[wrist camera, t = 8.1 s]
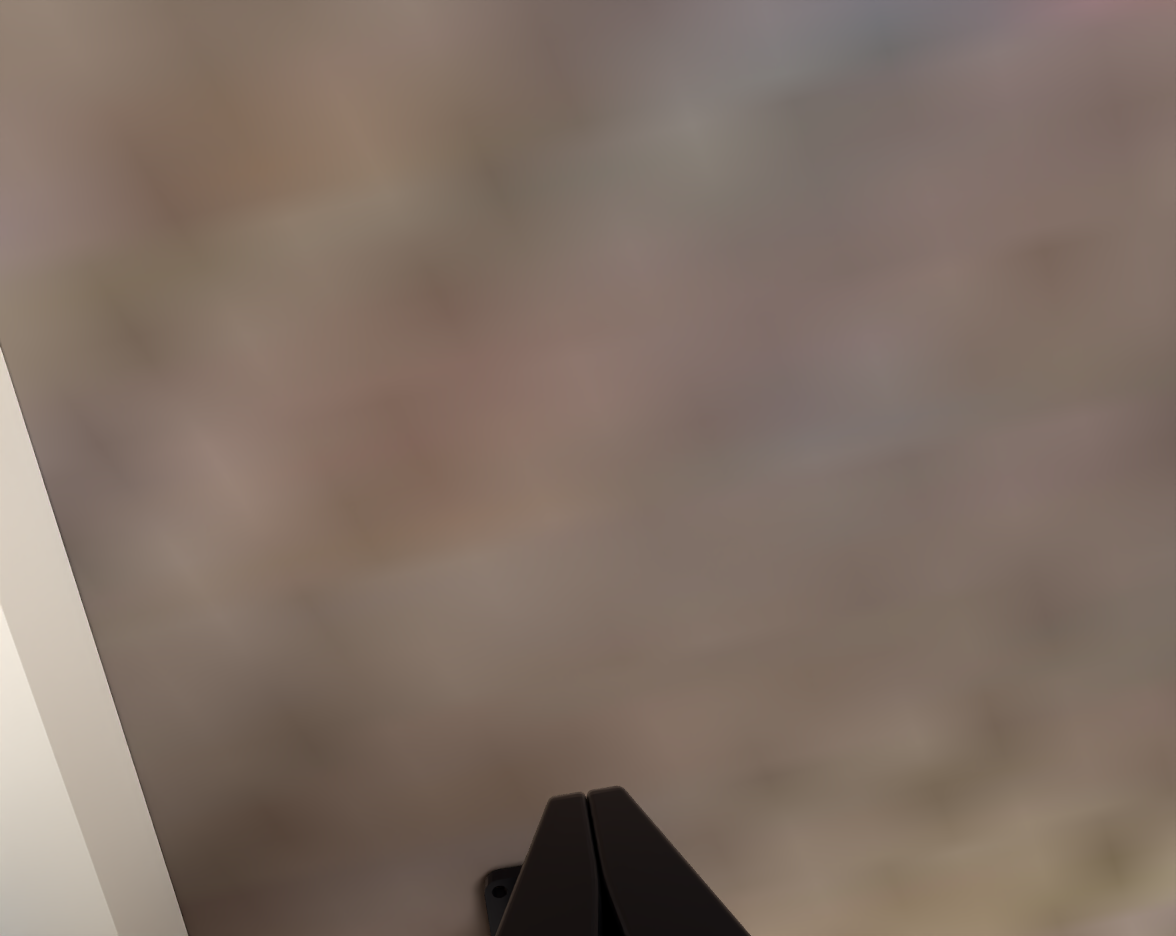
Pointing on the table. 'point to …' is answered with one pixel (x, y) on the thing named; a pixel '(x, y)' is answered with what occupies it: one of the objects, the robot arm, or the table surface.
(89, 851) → the key panel
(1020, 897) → the table surface
